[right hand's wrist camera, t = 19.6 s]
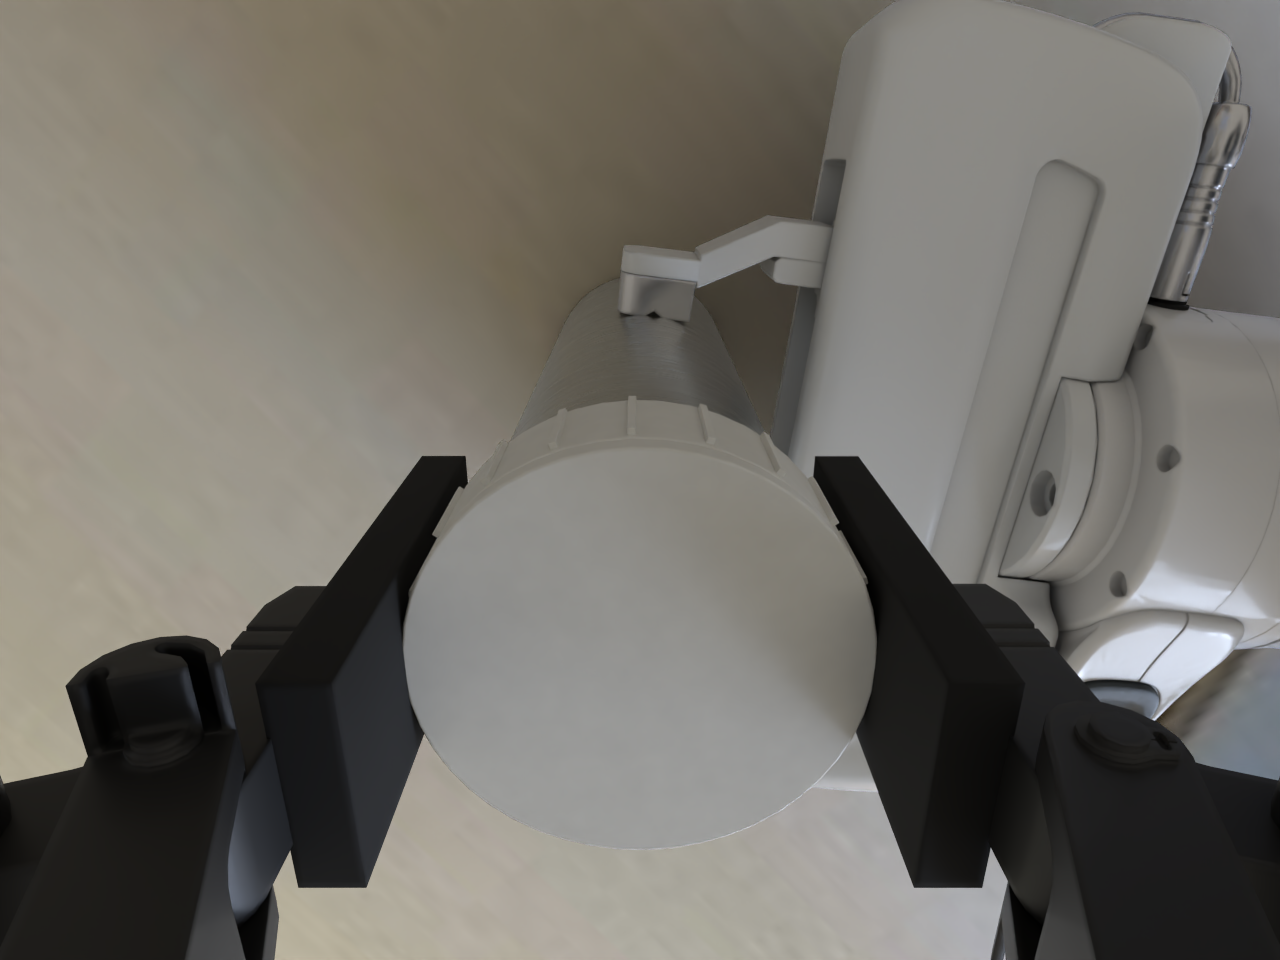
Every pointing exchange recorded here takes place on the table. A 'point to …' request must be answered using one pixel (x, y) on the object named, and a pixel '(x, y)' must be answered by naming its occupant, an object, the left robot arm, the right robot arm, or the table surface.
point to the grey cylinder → (637, 363)
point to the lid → (639, 629)
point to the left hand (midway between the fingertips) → (605, 412)
